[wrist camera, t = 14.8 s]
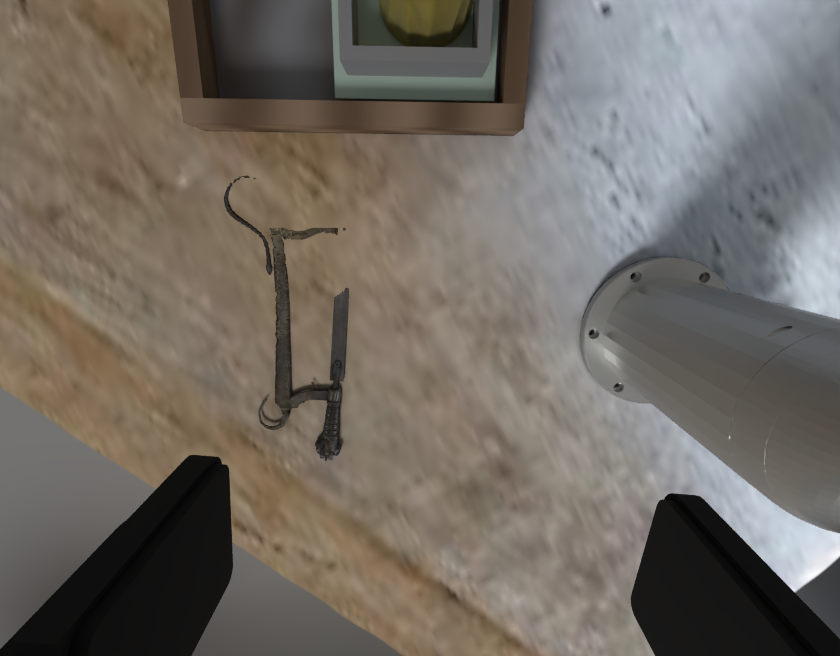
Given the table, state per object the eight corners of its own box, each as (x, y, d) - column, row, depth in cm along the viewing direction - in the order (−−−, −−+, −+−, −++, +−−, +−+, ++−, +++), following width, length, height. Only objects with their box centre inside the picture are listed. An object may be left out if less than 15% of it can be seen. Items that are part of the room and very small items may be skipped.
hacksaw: (341, 456, 39) (338, 465, 38) (230, 446, 39) (223, 455, 37) (358, 187, 33) (356, 186, 31) (225, 172, 32) (216, 170, 31)
